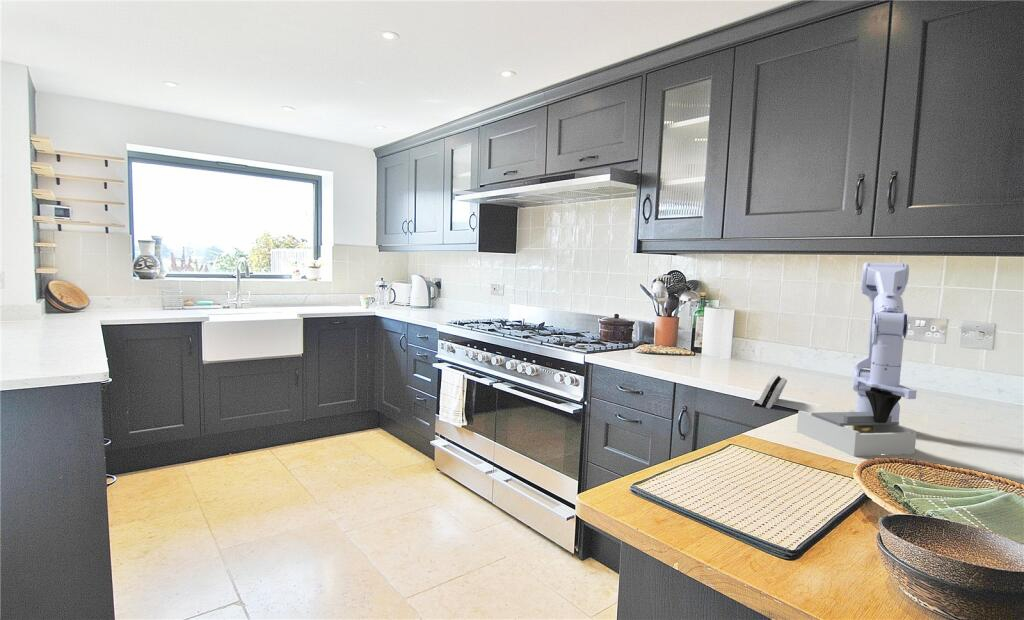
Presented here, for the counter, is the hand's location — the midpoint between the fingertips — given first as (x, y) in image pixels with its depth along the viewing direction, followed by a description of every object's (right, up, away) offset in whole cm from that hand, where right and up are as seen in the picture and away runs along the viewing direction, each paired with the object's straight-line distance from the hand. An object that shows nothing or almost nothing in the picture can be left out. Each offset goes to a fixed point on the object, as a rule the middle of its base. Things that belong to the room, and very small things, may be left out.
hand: (880, 422), depth 124 cm
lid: (-3, 0, +5) cm, 6 cm away
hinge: (-5, -3, +44) cm, 44 cm away
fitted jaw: (+1, -6, +7) cm, 10 cm away
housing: (-3, -6, +5) cm, 9 cm away
